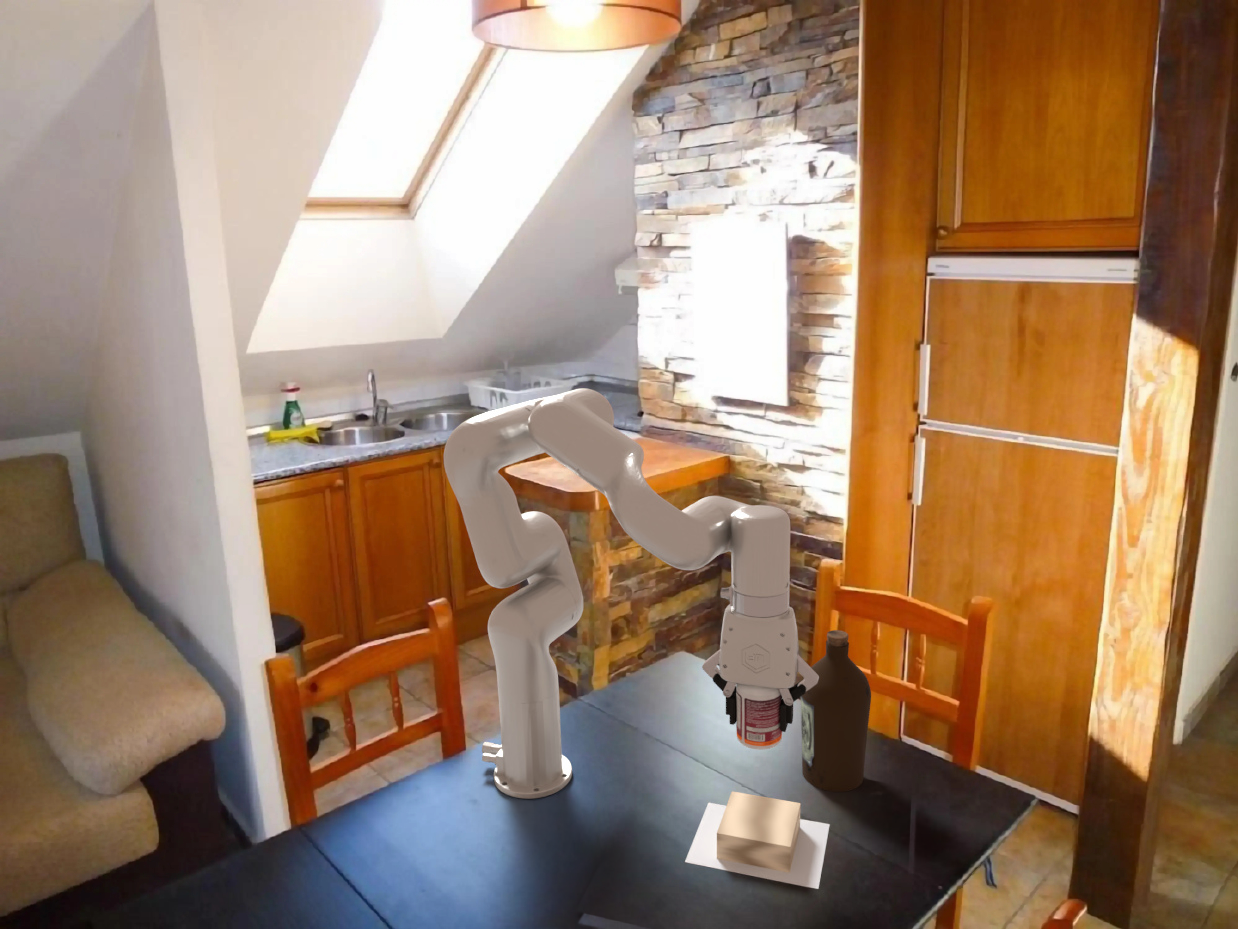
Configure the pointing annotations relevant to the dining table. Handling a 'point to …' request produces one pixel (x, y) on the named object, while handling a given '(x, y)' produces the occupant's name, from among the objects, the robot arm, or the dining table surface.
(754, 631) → the robot arm
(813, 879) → the white paper sheet
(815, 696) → the olive oil
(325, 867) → the dining table surface
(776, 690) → the pill bottle
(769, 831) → the birch riser
